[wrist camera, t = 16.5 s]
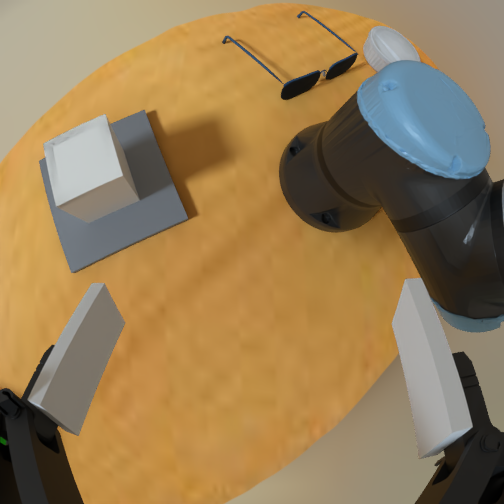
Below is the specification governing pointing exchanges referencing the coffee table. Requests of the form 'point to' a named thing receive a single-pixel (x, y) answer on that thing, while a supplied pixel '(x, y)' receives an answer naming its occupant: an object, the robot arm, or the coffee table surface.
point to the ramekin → (387, 48)
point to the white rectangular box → (89, 171)
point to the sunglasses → (310, 79)
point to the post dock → (130, 217)
